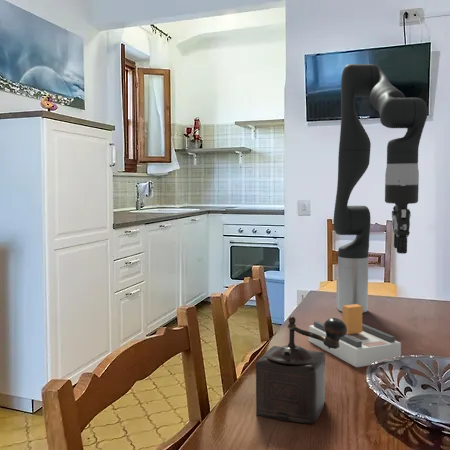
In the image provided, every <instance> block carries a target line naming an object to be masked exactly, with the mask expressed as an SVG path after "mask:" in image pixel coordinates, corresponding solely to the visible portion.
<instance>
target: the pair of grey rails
mask: <svg viewBox="0 0 450 450" xmlns="http://www.w3.org/2000/svg"><path fill="white" fill-rule="evenodd" d="M313 325H314V327H316V328H318V329H321V330H323V331H325V330H324V323H323V322H321V321H318V320H317V321H314V322H313ZM362 331H365V332H367V333H369V334H372V335H374V336H376V337H379V338H381V339H383V340H386V341H388V342H390V343H391V342H395V340H396V336H394V335H391V334H389V333H386V332H384V331H382V330H379V329H377V328H374V327H372V326H370V325H367V324H365V323H362ZM341 340H343V341H345V342H347V343H349V344H351V345H353V346H355V347H357V348H358V347H362V341H360V340H357V339H355V338H353V337H351V336H349V335H347V334H346V335H344V336H343V337H342V338H341Z"/></svg>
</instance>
